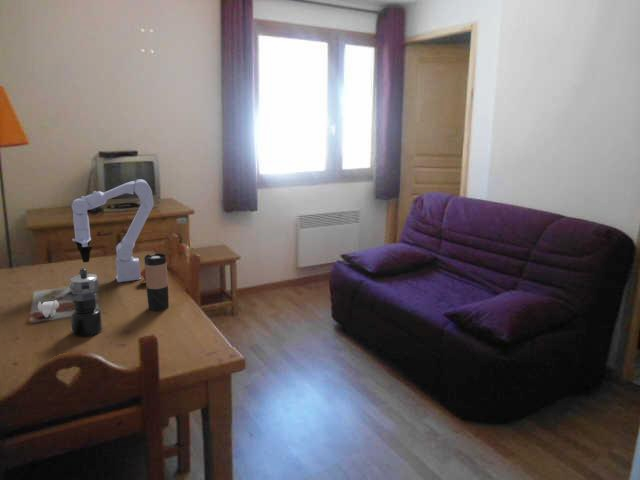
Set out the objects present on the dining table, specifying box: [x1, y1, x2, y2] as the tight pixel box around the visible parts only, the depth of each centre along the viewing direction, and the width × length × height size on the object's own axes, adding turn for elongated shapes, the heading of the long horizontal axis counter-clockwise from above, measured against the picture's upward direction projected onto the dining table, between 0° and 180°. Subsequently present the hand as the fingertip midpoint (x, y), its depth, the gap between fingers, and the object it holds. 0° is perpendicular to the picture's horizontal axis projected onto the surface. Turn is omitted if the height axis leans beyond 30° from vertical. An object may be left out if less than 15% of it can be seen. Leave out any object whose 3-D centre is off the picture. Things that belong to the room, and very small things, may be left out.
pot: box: [69, 271, 100, 296], centre depth 204 cm, size 10×20×5 cm, turn 28°
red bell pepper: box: [139, 267, 146, 284], centre depth 213 cm, size 7×7×10 cm
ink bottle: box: [70, 293, 103, 337], centre depth 165 cm, size 10×9×12 cm
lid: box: [70, 267, 98, 283], centre depth 201 cm, size 10×10×5 cm
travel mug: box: [143, 253, 170, 312], centre depth 185 cm, size 8×8×20 cm
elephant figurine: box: [37, 299, 60, 318], centre depth 178 cm, size 7×8×6 cm
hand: (85, 259), depth 210 cm, fingers open, 7 cm apart
